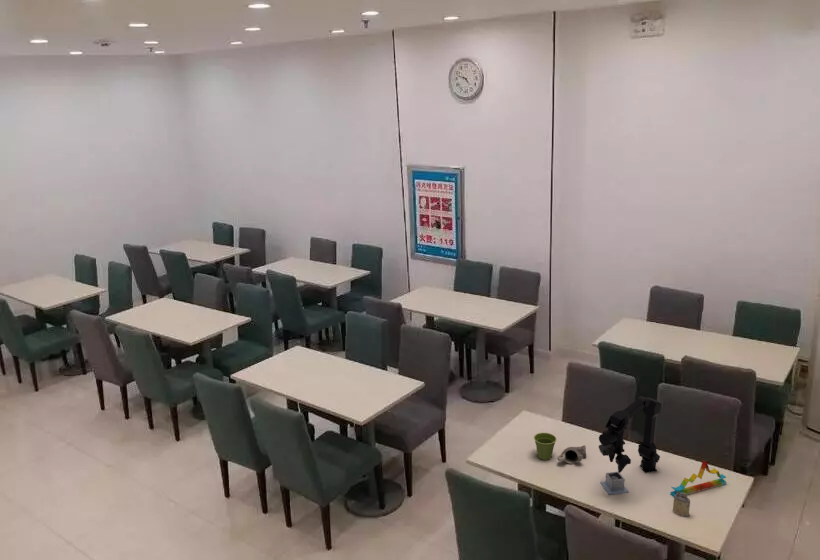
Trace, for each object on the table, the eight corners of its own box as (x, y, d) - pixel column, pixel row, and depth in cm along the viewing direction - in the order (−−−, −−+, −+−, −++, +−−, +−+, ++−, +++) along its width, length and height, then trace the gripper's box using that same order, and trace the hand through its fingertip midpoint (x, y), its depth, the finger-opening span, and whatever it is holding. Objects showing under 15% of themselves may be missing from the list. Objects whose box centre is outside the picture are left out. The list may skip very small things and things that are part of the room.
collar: (605, 483, 320) (605, 473, 319) (617, 482, 321) (618, 471, 319) (611, 491, 314) (611, 480, 312) (623, 489, 315) (624, 479, 313)
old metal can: (689, 513, 297) (691, 495, 294) (687, 518, 294) (689, 499, 291) (673, 508, 301) (675, 489, 298) (671, 512, 298) (673, 493, 296)
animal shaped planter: (564, 470, 347) (564, 470, 333) (555, 455, 350) (554, 455, 336) (590, 454, 346) (591, 454, 332) (581, 439, 349) (581, 439, 335)
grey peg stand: (619, 480, 323) (620, 471, 321) (628, 492, 314) (629, 482, 312) (600, 483, 322) (600, 473, 320) (608, 495, 312) (609, 485, 311)
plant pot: (560, 457, 345) (561, 439, 341) (544, 465, 338) (545, 446, 335) (544, 448, 354) (545, 429, 351) (528, 455, 348) (529, 437, 344)
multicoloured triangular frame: (674, 498, 308) (677, 471, 304) (670, 495, 311) (672, 468, 307) (726, 485, 317) (729, 458, 313) (721, 481, 320) (724, 454, 316)
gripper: (593, 430, 318) (591, 458, 322) (609, 450, 300) (607, 479, 304) (614, 428, 319) (613, 456, 324) (632, 448, 301) (630, 477, 306)
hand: (615, 467), depth 314 cm, fingers open, 9 cm apart
